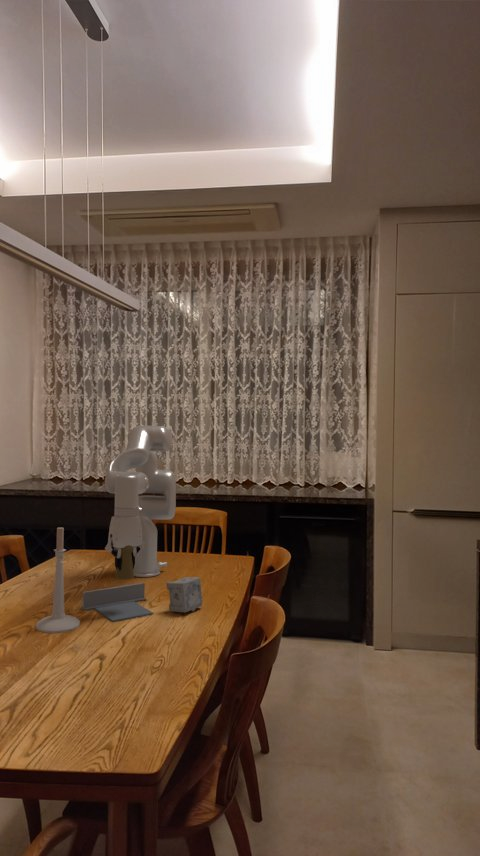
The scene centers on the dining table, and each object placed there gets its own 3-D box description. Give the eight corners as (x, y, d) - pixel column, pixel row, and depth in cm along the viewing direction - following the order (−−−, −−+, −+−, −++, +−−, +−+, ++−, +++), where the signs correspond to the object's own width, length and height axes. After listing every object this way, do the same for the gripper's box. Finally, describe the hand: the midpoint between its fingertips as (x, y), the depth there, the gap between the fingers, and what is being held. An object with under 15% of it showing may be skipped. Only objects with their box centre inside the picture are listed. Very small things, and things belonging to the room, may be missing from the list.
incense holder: (183, 604, 205) (183, 573, 204) (203, 608, 200) (203, 577, 200) (165, 611, 196) (165, 579, 196) (185, 616, 192) (186, 584, 192)
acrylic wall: (140, 597, 210) (141, 581, 210) (146, 600, 207) (146, 584, 207) (80, 607, 197) (81, 590, 197) (85, 611, 194) (85, 593, 194)
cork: (136, 574, 196) (137, 541, 196) (131, 579, 190) (132, 545, 190) (118, 573, 197) (119, 540, 197) (112, 578, 191) (113, 544, 191)
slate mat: (133, 603, 204) (133, 601, 204) (153, 614, 192) (153, 612, 192) (94, 609, 195) (94, 608, 195) (112, 622, 184) (112, 620, 184)
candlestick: (88, 621, 184) (90, 524, 184) (63, 635, 172) (65, 531, 172) (53, 616, 188) (55, 521, 188) (26, 629, 176) (28, 528, 176)
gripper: (144, 509, 202) (142, 563, 202) (97, 512, 192) (95, 569, 192) (154, 512, 195) (153, 568, 196) (107, 515, 186) (105, 574, 186)
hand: (124, 568), depth 194 cm, fingers closed on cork, 3 cm apart
